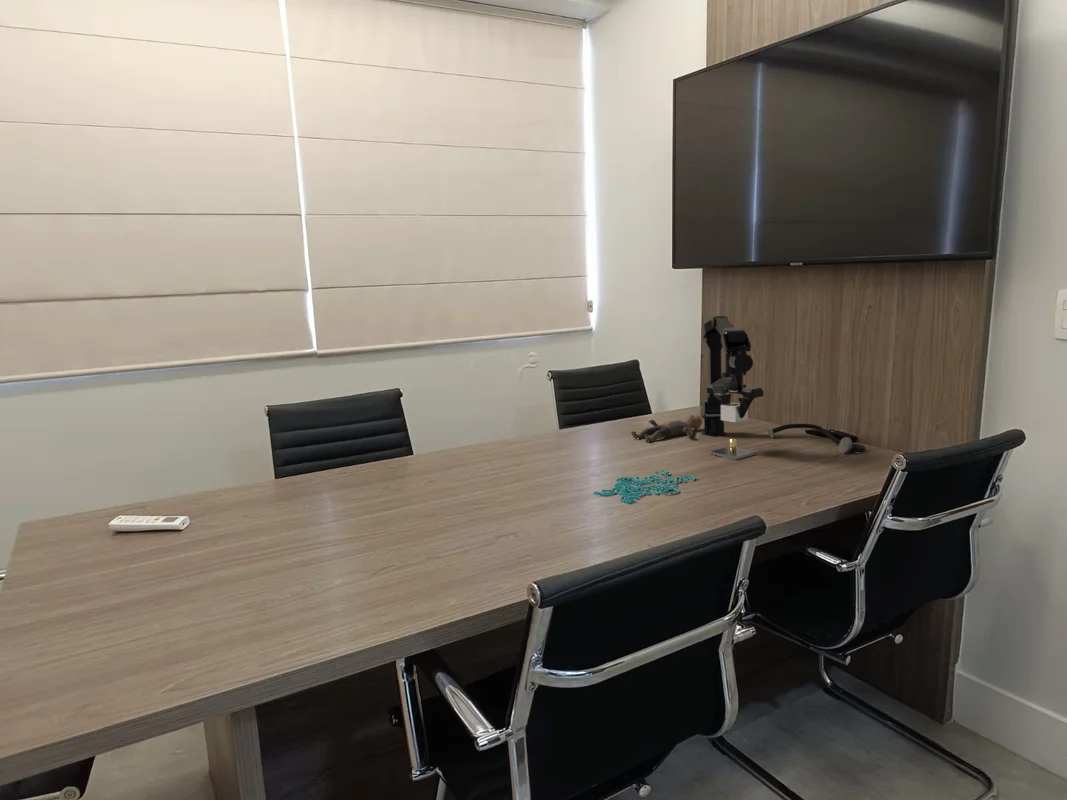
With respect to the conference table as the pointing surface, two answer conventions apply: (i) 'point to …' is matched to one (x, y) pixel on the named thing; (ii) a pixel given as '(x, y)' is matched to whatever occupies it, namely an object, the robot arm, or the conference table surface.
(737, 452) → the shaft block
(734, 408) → the grey hollow square block
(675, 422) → the figurine
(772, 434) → the hose
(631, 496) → the decorative art
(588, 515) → the conference table surface
